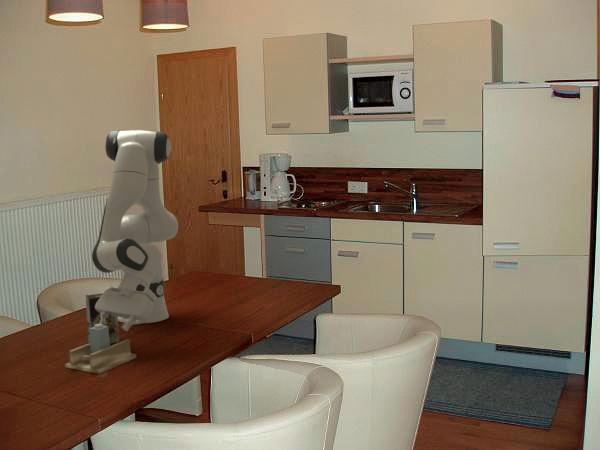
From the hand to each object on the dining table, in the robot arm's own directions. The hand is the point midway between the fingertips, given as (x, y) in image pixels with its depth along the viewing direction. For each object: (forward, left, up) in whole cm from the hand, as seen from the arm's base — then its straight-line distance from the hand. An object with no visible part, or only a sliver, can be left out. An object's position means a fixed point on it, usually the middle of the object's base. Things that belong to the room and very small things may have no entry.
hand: (112, 327), depth 234 cm
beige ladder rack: (+1, -7, -9) cm, 11 cm away
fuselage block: (+1, -7, -8) cm, 10 cm away
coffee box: (-13, +9, -9) cm, 18 cm away
